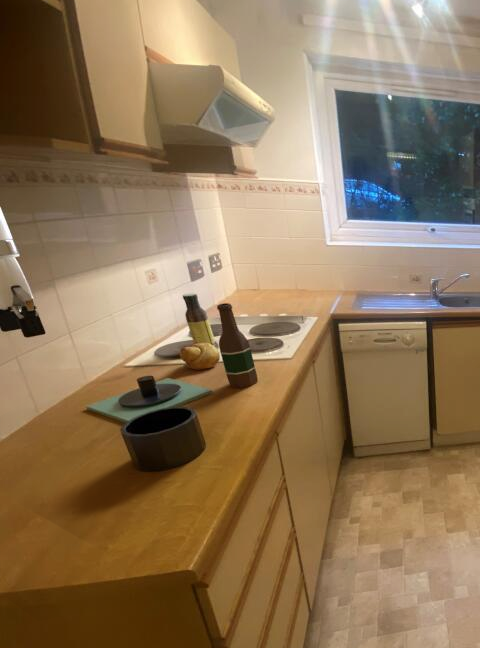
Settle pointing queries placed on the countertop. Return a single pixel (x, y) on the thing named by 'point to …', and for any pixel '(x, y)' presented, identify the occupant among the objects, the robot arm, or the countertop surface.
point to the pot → (163, 438)
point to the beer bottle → (235, 351)
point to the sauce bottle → (198, 321)
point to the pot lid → (149, 393)
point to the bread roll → (200, 356)
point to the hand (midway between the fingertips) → (23, 332)
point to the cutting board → (125, 414)
